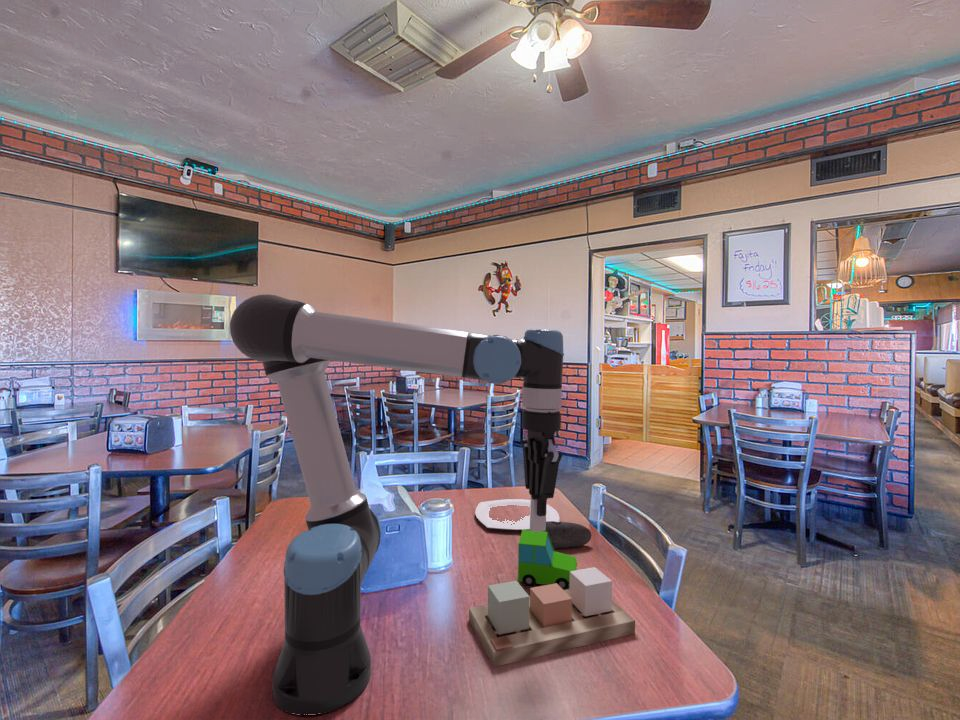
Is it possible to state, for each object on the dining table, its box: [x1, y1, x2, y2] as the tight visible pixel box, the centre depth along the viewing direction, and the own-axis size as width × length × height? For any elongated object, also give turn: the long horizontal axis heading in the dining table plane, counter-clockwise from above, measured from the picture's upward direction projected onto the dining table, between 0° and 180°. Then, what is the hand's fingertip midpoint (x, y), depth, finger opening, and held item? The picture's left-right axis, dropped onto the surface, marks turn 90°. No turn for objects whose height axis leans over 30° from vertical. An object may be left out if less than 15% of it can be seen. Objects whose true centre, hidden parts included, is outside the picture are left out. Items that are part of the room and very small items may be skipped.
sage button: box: [487, 580, 530, 636], centre depth 85 cm, size 6×6×6 cm
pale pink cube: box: [569, 566, 613, 617], centre depth 91 cm, size 6×6×6 cm
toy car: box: [517, 530, 578, 590], centre depth 106 cm, size 10×13×10 cm
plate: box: [474, 498, 561, 531], centre depth 145 cm, size 27×27×2 cm
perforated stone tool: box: [543, 521, 592, 549], centre depth 124 cm, size 15×5×7 cm, turn 94°
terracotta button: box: [529, 583, 572, 628], centre depth 88 cm, size 6×6×6 cm
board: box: [468, 588, 636, 668], centre depth 88 cm, size 29×14×3 cm, turn 109°
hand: (537, 529), depth 87 cm, fingers closed
